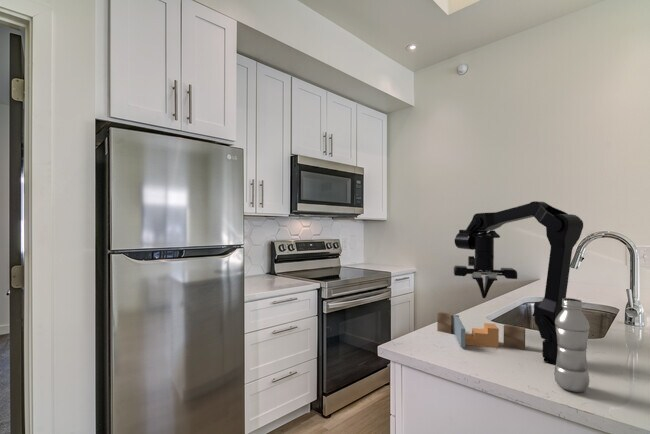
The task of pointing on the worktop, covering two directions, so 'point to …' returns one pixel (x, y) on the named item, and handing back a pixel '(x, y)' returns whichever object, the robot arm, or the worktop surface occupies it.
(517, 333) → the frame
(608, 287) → the worktop surface
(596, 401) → the worktop surface
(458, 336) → the grey piece
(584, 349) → the silver bottle
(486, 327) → the orange stepped block
